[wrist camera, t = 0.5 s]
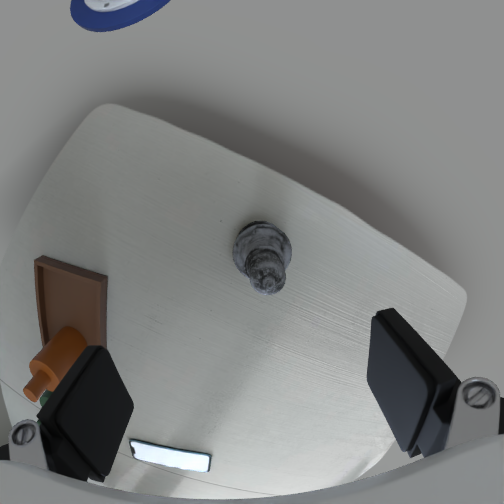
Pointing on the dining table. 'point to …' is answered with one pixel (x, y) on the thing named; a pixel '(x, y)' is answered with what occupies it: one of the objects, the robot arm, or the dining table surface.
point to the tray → (70, 300)
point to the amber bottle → (54, 362)
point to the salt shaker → (263, 256)
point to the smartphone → (170, 456)
